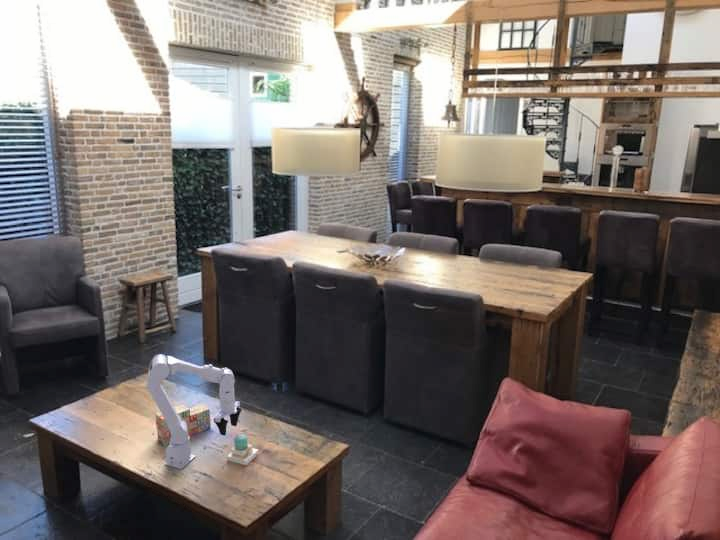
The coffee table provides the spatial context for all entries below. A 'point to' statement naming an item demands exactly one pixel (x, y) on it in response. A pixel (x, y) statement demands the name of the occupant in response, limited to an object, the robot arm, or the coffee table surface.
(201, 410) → the stack of blocks
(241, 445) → the teal rounded piece
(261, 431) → the coffee table surface
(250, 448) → the maple block
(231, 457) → the white slab
